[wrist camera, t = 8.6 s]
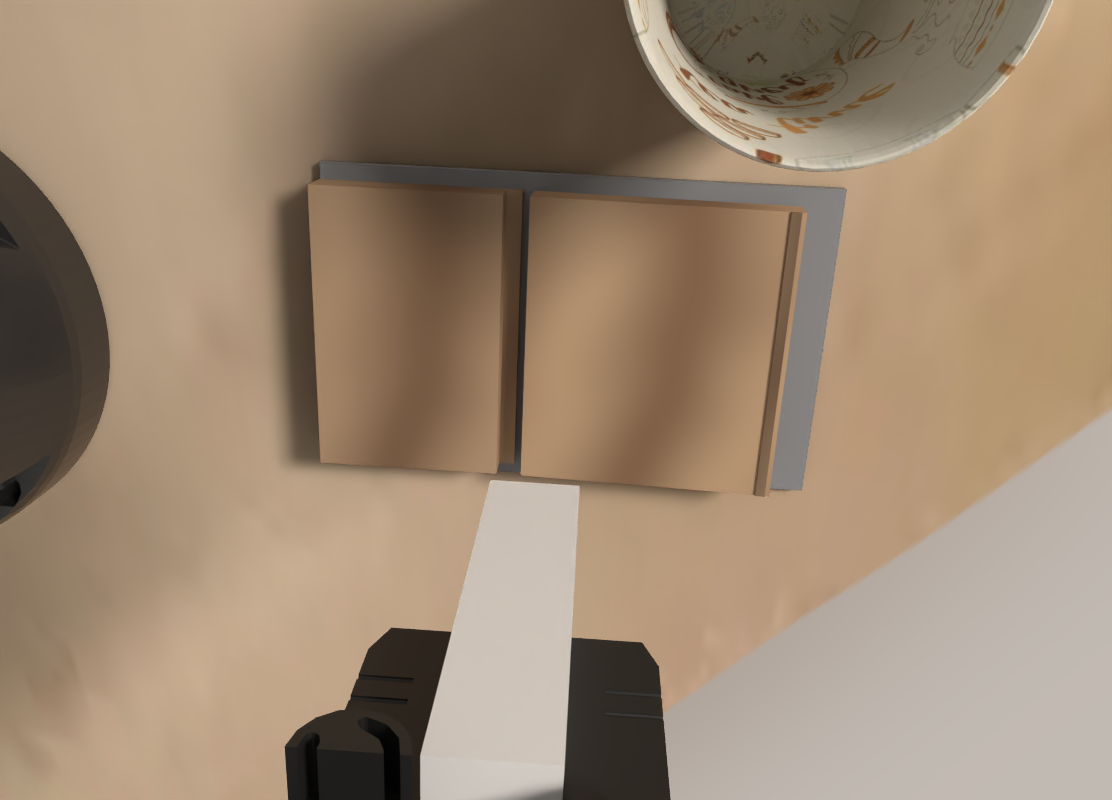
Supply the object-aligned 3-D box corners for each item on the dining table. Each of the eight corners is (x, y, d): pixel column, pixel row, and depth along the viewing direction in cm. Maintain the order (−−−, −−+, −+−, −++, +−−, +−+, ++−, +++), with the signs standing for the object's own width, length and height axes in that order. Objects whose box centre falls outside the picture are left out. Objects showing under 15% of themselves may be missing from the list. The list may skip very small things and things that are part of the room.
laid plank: (331, 446, 33) (320, 462, 31) (320, 178, 29) (307, 184, 28) (515, 458, 32) (511, 474, 31) (523, 189, 29) (520, 195, 28)
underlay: (335, 455, 33) (331, 460, 33) (323, 160, 30) (319, 161, 29) (799, 485, 32) (801, 490, 32) (843, 187, 29) (846, 189, 29)
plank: (525, 460, 32) (520, 476, 31) (534, 190, 29) (529, 196, 28) (765, 480, 32) (769, 497, 30) (801, 206, 28) (807, 213, 27)
